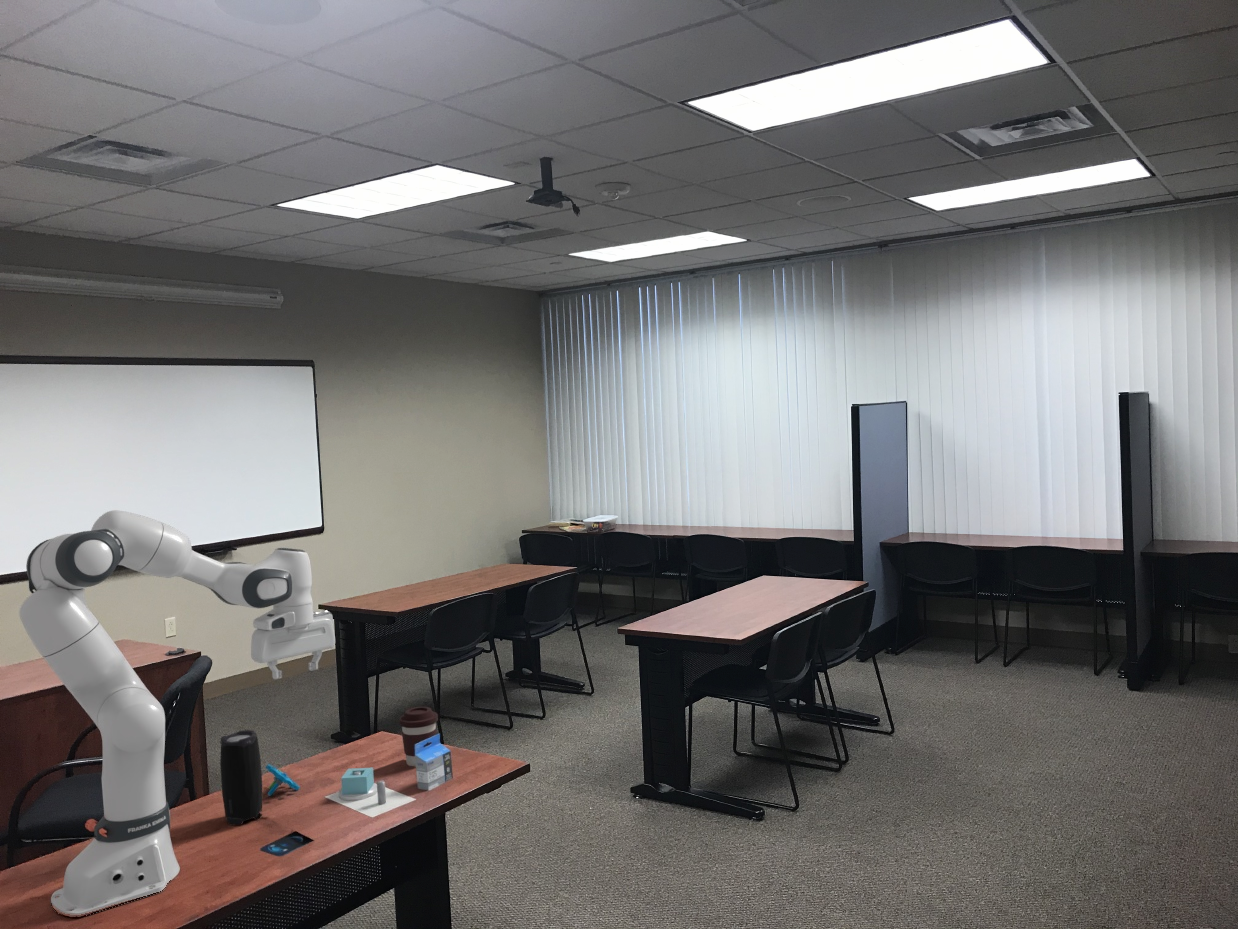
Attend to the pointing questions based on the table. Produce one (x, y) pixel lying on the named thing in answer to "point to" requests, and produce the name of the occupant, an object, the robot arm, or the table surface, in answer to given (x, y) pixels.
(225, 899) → the table surface
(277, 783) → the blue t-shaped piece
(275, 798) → the table surface
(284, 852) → the smartphone
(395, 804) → the stand board
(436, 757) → the label tape box
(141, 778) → the robot arm
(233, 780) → the portable speaker
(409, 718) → the coffee cup
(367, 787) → the teal box with opening
